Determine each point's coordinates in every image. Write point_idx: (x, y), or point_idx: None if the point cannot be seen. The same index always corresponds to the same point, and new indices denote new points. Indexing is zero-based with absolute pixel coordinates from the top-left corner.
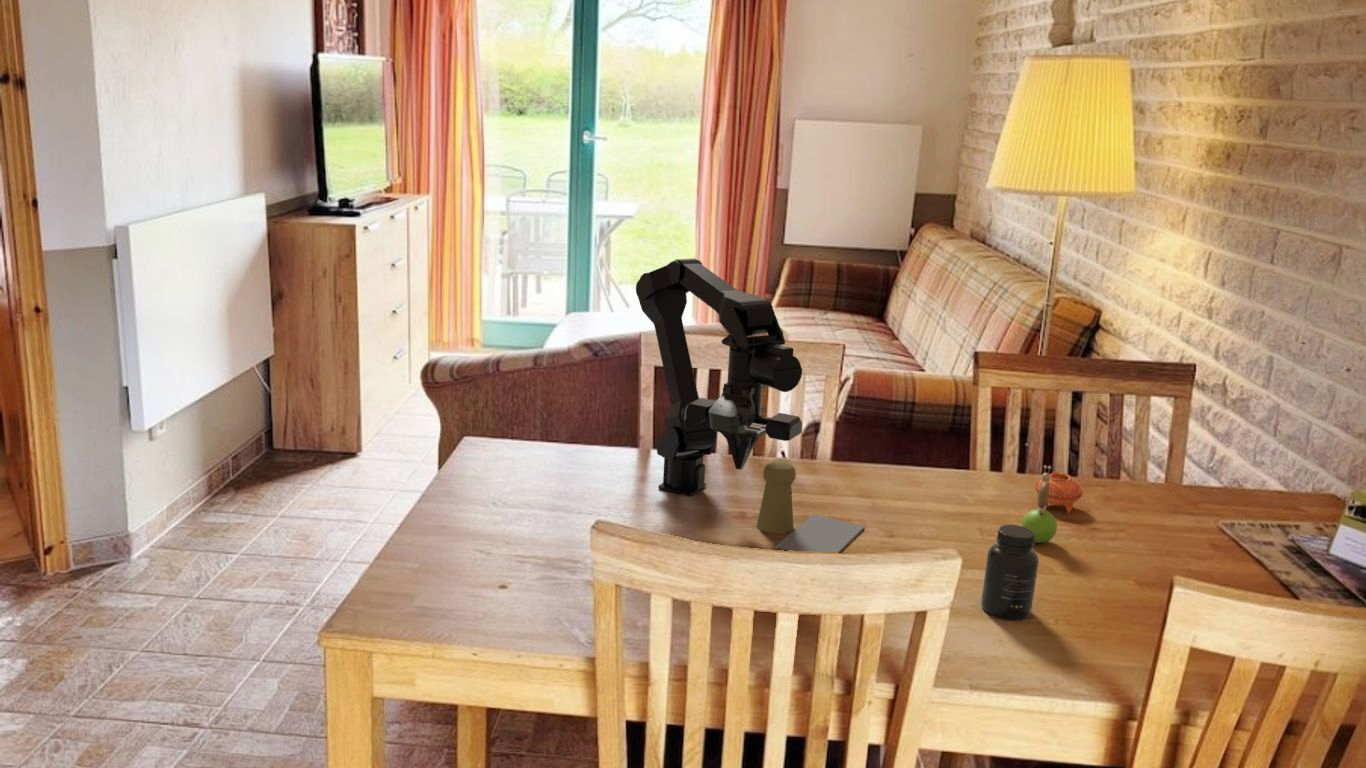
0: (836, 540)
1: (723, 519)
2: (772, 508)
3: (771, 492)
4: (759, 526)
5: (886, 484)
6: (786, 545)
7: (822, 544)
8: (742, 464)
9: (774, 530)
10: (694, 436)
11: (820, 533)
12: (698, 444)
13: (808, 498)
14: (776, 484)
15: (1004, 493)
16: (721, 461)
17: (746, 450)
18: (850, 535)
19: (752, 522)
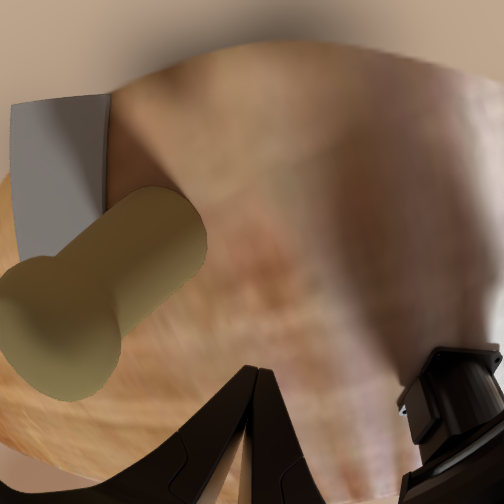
0: (26, 211)
1: (314, 231)
2: (112, 216)
3: (89, 247)
4: (185, 205)
5: (109, 456)
6: (86, 115)
7: (35, 172)
8: (228, 386)
9: (137, 191)
10: (484, 494)
11: (57, 233)
12: (459, 477)
13: (168, 412)
14: (47, 256)
15: (24, 430)
16: (371, 487)
17: (162, 446)
18: (22, 250)
19: (224, 244)
